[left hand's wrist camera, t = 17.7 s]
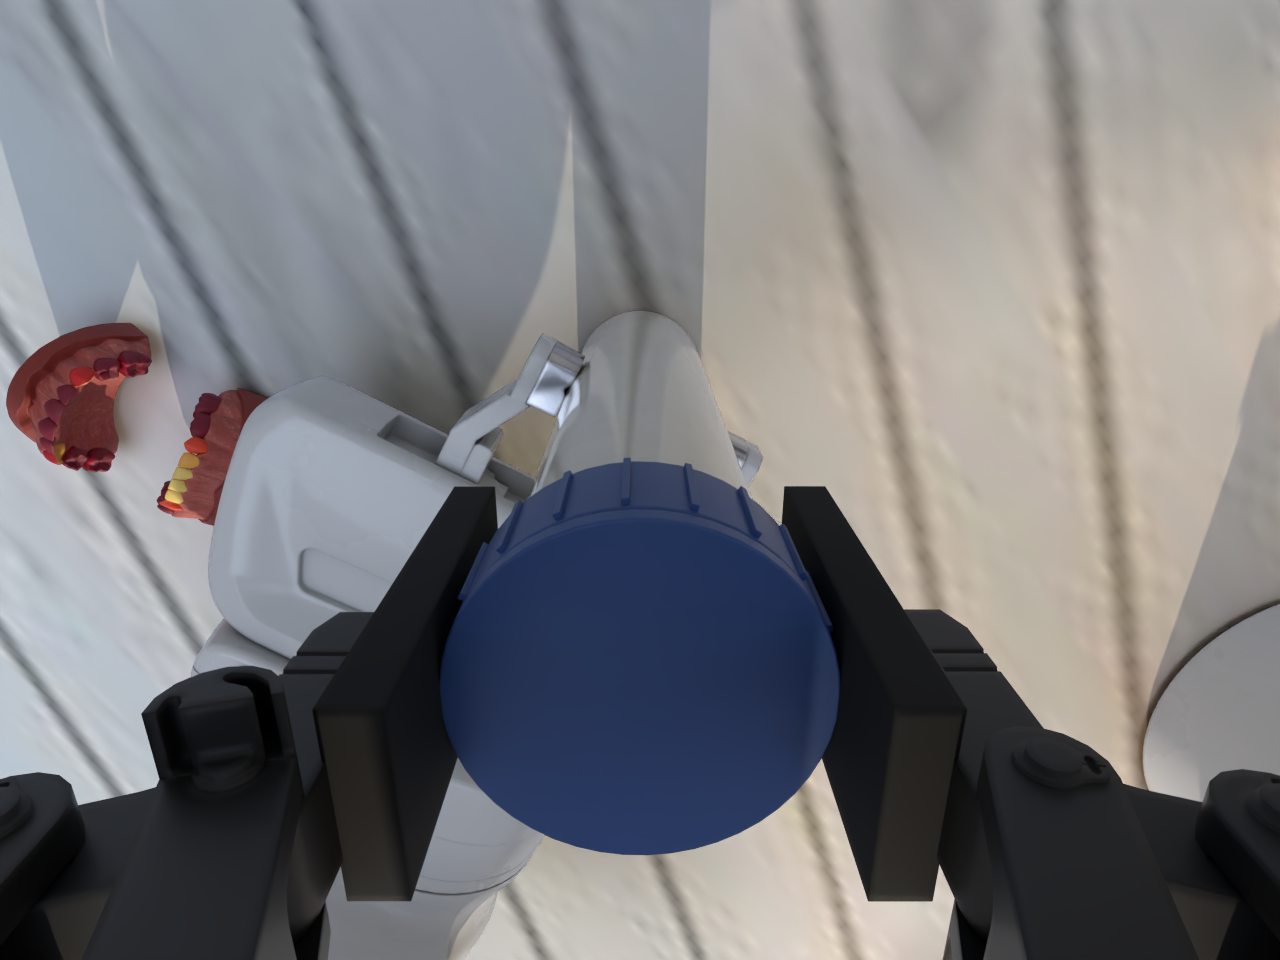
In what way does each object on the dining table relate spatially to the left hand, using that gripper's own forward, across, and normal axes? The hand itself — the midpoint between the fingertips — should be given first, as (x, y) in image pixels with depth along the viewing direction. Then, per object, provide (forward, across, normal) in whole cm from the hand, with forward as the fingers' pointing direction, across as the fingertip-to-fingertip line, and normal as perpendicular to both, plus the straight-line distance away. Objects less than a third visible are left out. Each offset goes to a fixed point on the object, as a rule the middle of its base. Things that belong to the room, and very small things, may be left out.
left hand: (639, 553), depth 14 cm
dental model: (+16, +18, +2) cm, 24 cm away
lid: (-4, 0, 0) cm, 4 cm away
